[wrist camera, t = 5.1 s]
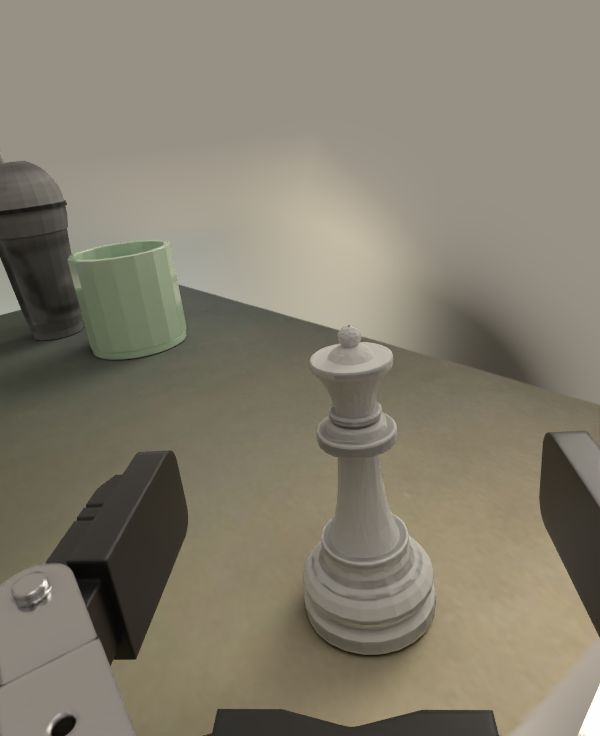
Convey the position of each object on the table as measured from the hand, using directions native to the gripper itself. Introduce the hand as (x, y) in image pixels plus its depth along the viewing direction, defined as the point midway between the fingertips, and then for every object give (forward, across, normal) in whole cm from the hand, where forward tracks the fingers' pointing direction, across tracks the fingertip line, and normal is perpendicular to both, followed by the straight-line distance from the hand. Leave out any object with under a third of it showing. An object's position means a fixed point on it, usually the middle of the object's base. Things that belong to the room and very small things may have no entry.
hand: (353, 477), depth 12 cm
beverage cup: (+39, +29, +8) cm, 49 cm away
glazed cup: (+34, +19, +8) cm, 39 cm away
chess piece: (+4, 0, +8) cm, 9 cm away
